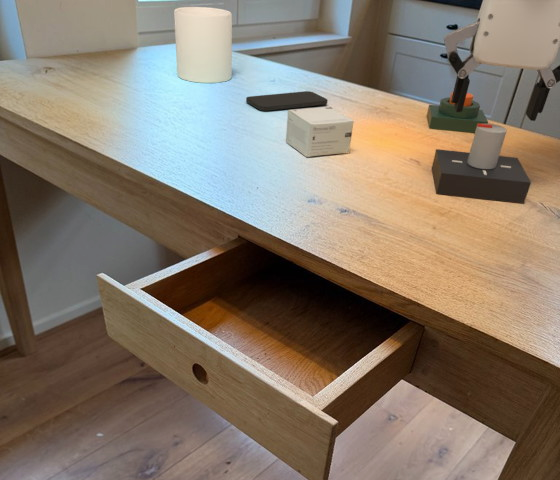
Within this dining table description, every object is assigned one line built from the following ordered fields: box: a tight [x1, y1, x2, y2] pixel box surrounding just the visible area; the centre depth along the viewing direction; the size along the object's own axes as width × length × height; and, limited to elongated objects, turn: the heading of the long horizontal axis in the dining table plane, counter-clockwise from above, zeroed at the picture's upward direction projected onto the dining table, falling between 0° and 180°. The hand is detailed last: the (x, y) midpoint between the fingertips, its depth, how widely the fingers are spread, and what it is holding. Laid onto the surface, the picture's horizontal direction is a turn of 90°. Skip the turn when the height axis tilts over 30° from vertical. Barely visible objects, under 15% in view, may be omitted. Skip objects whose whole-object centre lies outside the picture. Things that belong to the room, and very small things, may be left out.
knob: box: [467, 122, 508, 169], centre depth 78 cm, size 4×4×5 cm
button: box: [449, 91, 474, 106], centre depth 102 cm, size 4×4×2 cm
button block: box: [426, 97, 489, 134], centre depth 104 cm, size 10×8×4 cm
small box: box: [285, 106, 355, 158], centre depth 89 cm, size 8×8×5 cm
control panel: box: [431, 149, 532, 204], centre depth 81 cm, size 12×10×3 cm
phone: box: [245, 90, 328, 112], centre depth 109 cm, size 7×1×15 cm
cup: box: [173, 6, 233, 84], centre depth 118 cm, size 12×12×12 cm
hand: (493, 113), depth 76 cm, fingers open, 9 cm apart
